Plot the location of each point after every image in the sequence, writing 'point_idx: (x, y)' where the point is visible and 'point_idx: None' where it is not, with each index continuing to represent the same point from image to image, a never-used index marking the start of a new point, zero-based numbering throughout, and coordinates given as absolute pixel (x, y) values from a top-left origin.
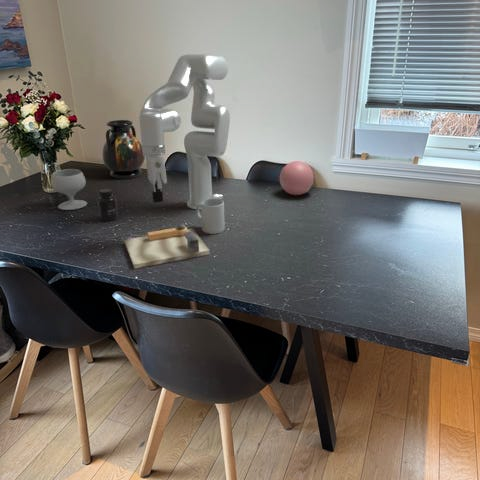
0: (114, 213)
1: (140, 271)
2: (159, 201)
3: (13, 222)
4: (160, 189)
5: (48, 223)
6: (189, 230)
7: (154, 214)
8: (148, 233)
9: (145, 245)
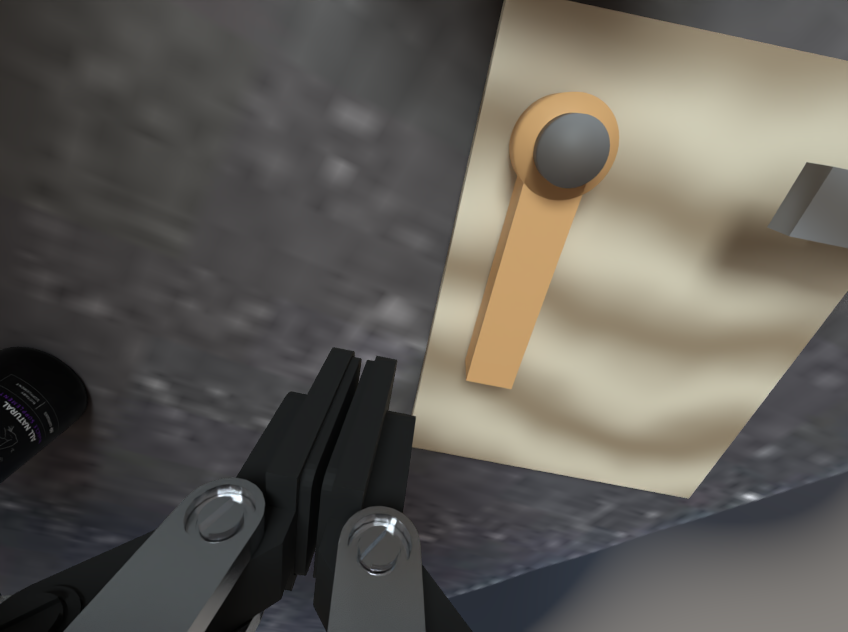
0: (37, 396)
1: (719, 472)
2: (389, 398)
3: None
4: (456, 617)
5: (57, 554)
6: (532, 42)
7: (5, 123)
8: (484, 381)
9: (543, 399)
